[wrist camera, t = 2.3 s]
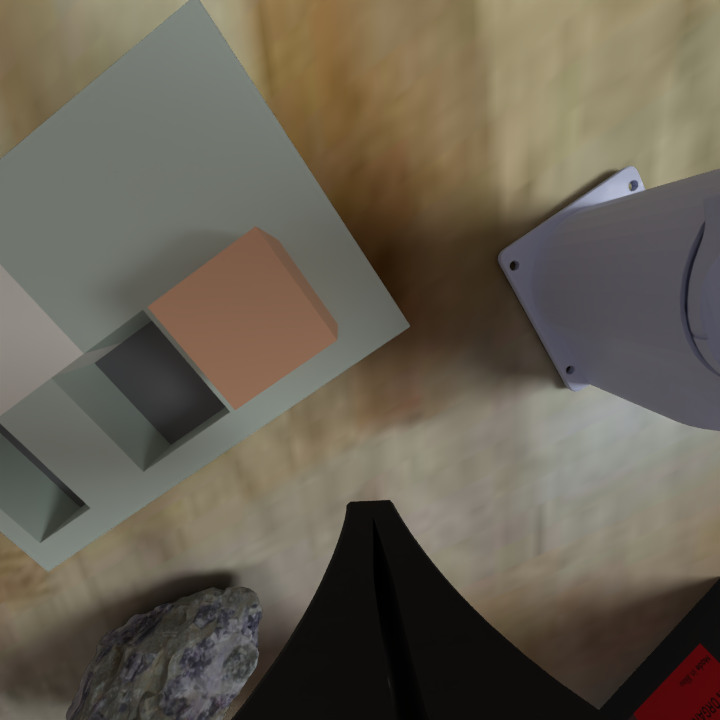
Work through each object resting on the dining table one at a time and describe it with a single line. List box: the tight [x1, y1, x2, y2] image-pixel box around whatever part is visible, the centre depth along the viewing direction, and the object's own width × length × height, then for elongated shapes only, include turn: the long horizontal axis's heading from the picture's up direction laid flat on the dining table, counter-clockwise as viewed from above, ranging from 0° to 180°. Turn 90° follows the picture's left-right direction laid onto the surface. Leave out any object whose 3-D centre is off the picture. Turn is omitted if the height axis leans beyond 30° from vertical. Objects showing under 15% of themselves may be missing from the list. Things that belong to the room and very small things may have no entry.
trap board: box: [0, 0, 410, 571], centre depth 17 cm, size 15×23×3 cm, turn 124°
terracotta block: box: [148, 226, 338, 410], centre depth 13 cm, size 4×4×4 cm
